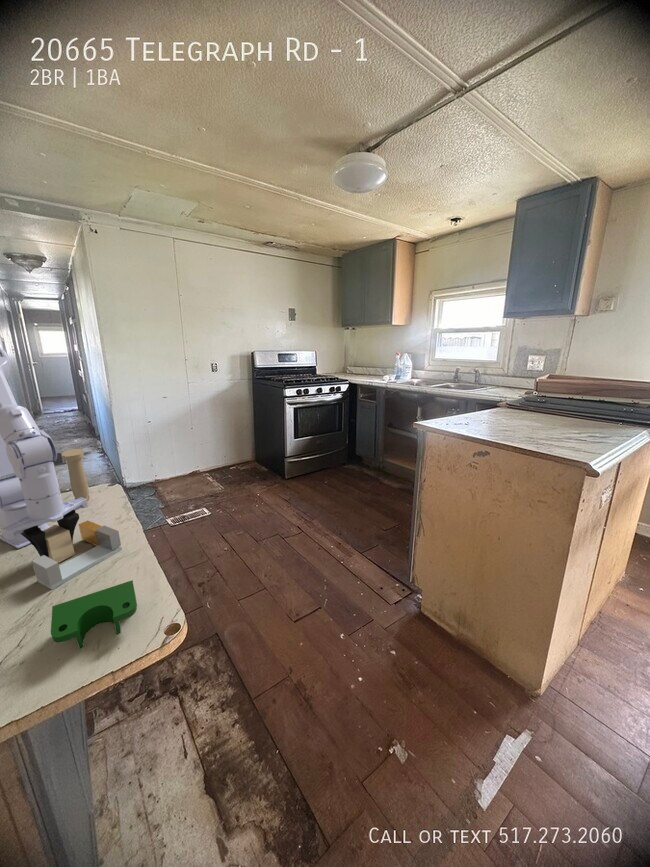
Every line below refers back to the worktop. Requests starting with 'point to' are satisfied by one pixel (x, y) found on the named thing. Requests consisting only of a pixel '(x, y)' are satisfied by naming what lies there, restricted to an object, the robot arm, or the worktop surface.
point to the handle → (76, 473)
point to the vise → (68, 566)
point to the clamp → (92, 612)
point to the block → (58, 543)
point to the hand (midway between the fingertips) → (56, 550)
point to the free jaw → (99, 535)
